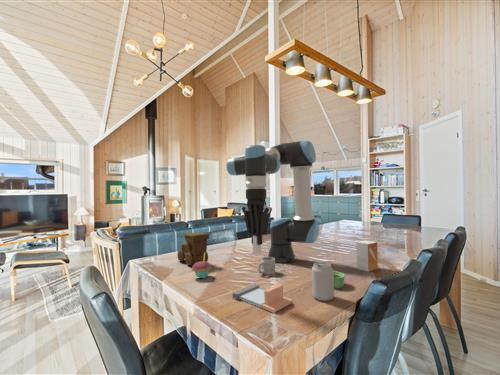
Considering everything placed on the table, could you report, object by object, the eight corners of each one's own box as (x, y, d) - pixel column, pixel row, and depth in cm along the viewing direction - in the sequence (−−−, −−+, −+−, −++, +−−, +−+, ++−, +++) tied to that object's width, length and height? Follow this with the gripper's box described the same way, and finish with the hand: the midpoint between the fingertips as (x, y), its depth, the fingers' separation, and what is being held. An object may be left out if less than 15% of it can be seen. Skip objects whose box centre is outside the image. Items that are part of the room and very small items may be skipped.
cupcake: (214, 275, 118) (213, 249, 118) (205, 281, 110) (204, 253, 110) (198, 273, 121) (197, 248, 121) (188, 279, 113) (188, 252, 113)
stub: (262, 308, 83) (261, 291, 83) (280, 298, 90) (280, 283, 90) (274, 312, 80) (273, 295, 80) (292, 302, 87) (292, 286, 87)
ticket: (232, 298, 92) (232, 292, 92) (255, 288, 100) (254, 283, 100) (259, 309, 83) (259, 303, 83) (281, 297, 91) (281, 292, 91)
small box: (368, 272, 117) (367, 244, 118) (356, 268, 123) (355, 242, 123) (378, 268, 122) (377, 241, 122) (366, 265, 127) (365, 240, 127)
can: (309, 294, 94) (308, 261, 94) (329, 292, 95) (328, 260, 95) (316, 302, 87) (315, 267, 87) (337, 301, 87) (336, 266, 88)
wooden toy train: (211, 264, 136) (210, 233, 136) (191, 268, 129) (191, 236, 129) (194, 257, 151) (193, 229, 152) (175, 260, 144) (175, 231, 144)
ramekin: (342, 290, 97) (341, 279, 97) (318, 286, 101) (318, 275, 102) (346, 283, 104) (346, 272, 104) (325, 279, 109) (324, 269, 109)
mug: (267, 269, 125) (267, 256, 125) (278, 272, 120) (277, 258, 120) (253, 274, 118) (253, 260, 118) (264, 277, 113) (263, 262, 113)
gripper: (236, 188, 94) (237, 252, 93) (262, 187, 84) (264, 258, 84) (250, 188, 99) (251, 248, 99) (276, 187, 90) (278, 254, 89)
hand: (257, 253), depth 91 cm, fingers closed
